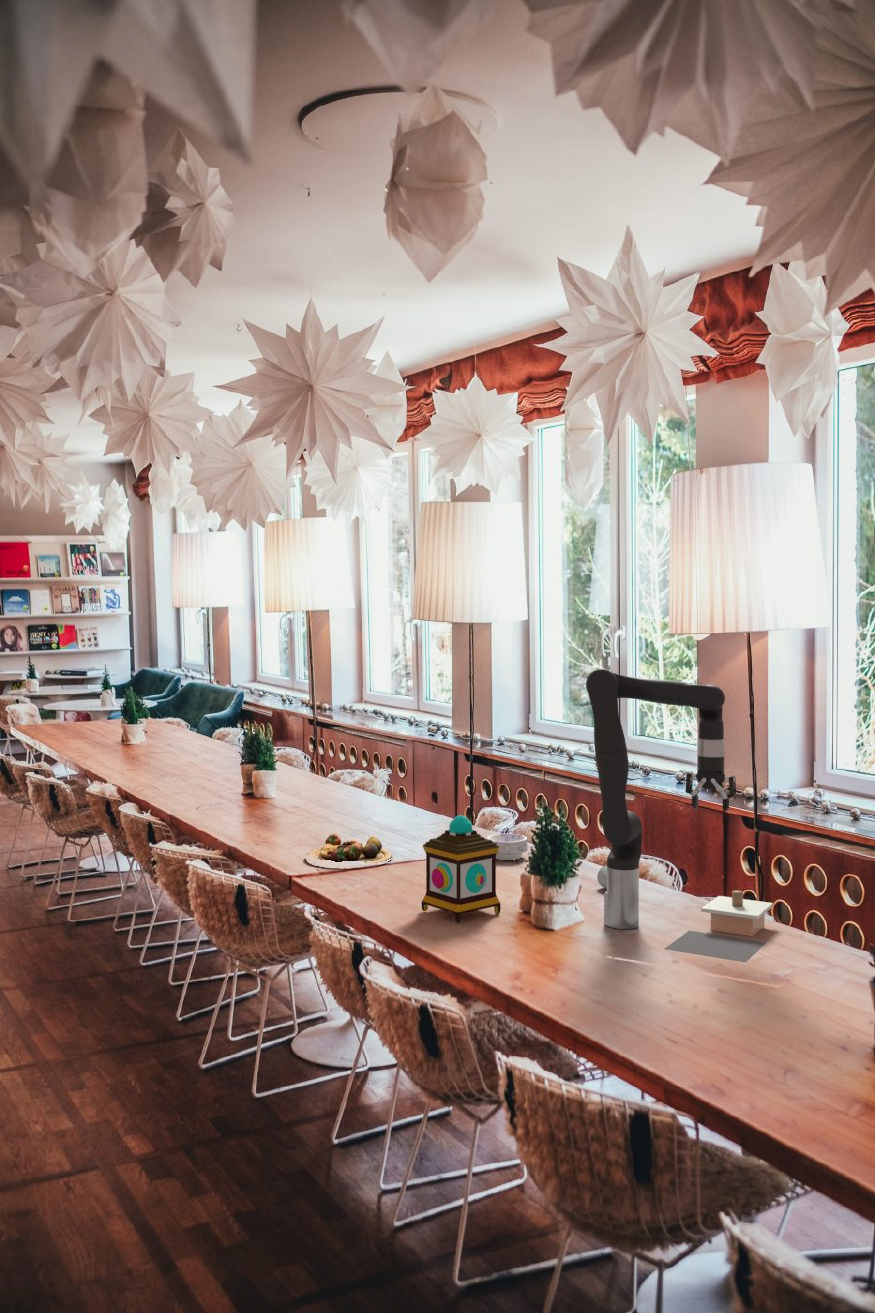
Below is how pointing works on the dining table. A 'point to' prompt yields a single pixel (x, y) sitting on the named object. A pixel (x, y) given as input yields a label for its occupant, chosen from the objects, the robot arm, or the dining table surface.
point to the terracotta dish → (736, 924)
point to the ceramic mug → (602, 877)
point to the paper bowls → (509, 845)
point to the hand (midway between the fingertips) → (710, 810)
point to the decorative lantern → (461, 870)
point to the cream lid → (737, 906)
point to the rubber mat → (716, 946)
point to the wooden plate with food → (352, 850)
